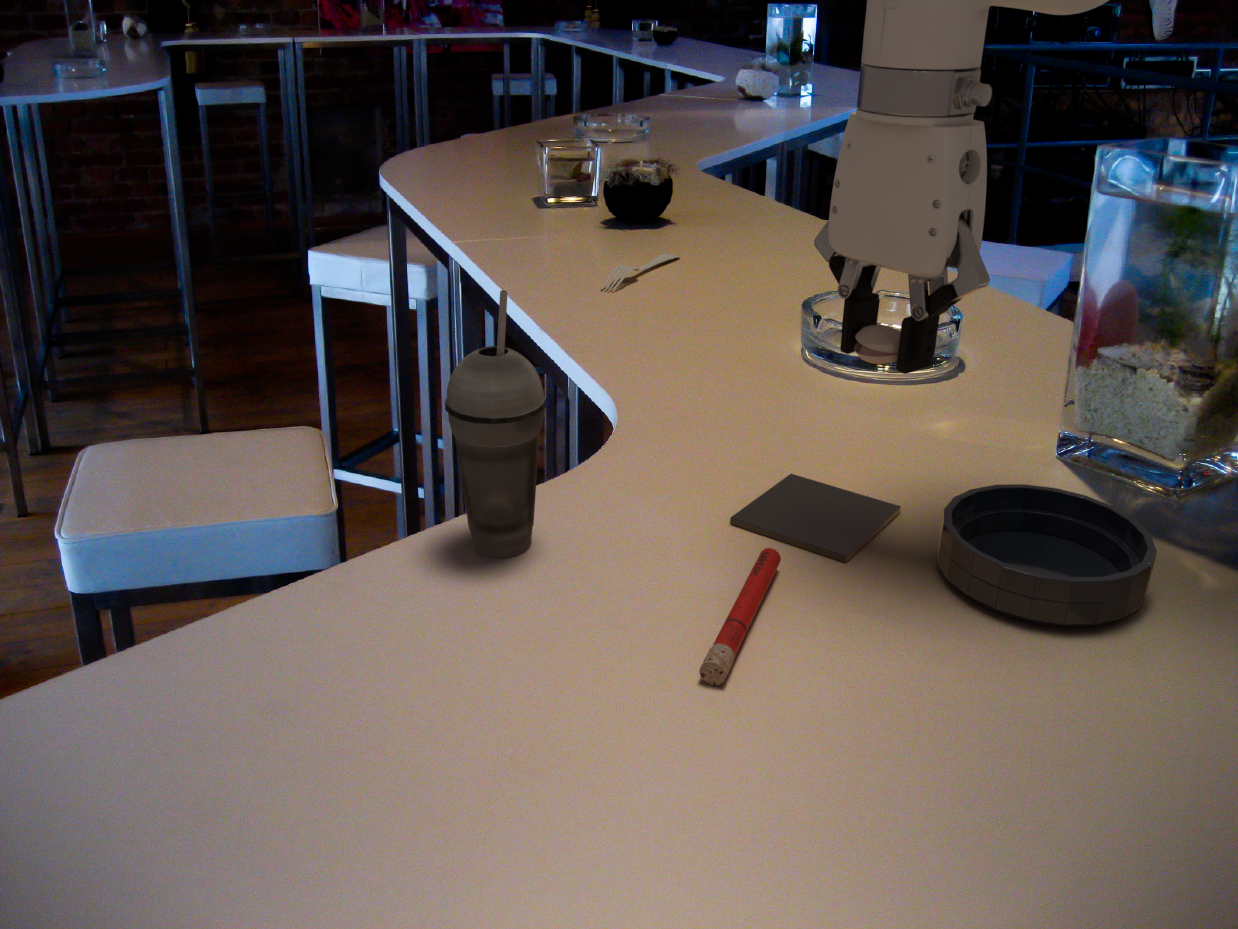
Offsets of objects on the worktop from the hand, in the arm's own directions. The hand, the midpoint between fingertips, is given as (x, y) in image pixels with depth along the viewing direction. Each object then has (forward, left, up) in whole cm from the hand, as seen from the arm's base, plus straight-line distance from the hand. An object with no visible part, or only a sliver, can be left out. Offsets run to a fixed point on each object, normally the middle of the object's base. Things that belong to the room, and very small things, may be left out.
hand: (884, 356), depth 79 cm
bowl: (-5, +12, -14) cm, 19 cm away
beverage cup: (+23, -16, -15) cm, 32 cm away
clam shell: (0, 0, 0) cm, 1 cm away
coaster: (+1, -4, -14) cm, 15 cm away
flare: (+16, +3, -15) cm, 22 cm away
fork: (-34, -68, -15) cm, 77 cm away
